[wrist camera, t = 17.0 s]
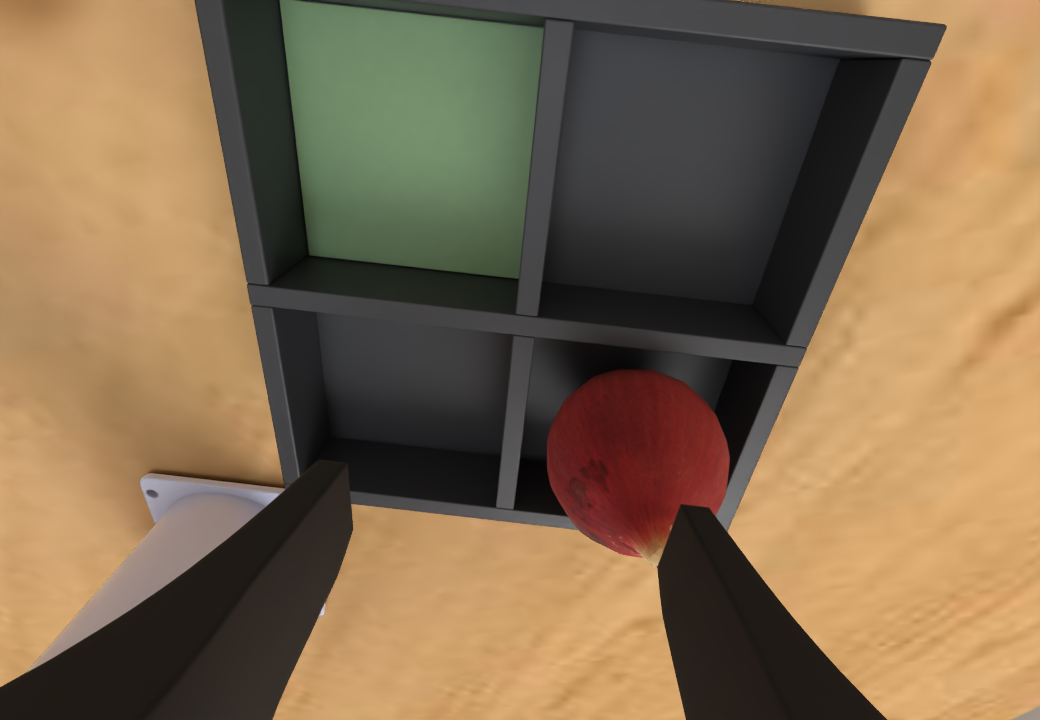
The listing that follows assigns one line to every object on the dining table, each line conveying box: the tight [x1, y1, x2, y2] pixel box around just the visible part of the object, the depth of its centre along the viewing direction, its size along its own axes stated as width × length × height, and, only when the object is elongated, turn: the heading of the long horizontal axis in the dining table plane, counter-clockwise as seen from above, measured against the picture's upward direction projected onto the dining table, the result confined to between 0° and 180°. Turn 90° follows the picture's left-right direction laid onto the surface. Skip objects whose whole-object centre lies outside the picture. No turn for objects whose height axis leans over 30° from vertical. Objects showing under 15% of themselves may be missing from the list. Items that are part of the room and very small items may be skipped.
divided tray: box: [195, 0, 947, 531], centre depth 17 cm, size 17×17×4 cm
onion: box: [547, 369, 730, 567], centre depth 17 cm, size 6×6×8 cm
